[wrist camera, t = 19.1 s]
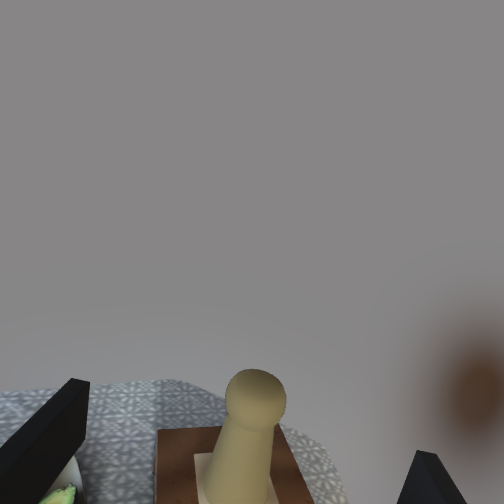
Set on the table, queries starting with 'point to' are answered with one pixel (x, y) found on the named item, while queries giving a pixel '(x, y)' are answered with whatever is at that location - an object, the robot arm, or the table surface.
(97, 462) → the table surface
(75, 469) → the salad plate
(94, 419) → the table surface
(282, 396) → the cork
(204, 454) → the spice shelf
